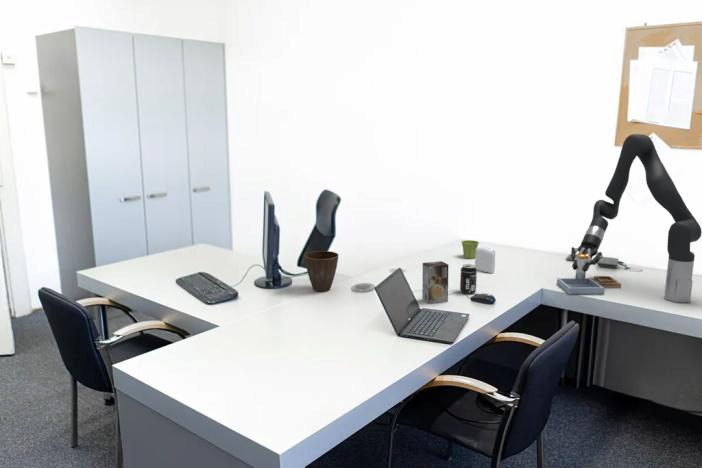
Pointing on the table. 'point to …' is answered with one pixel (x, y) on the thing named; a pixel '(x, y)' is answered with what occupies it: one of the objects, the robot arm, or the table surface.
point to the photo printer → (485, 259)
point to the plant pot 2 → (469, 248)
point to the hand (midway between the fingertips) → (579, 269)
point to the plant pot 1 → (321, 269)
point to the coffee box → (435, 282)
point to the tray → (580, 286)
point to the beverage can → (468, 279)
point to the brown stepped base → (606, 281)
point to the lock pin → (580, 267)
